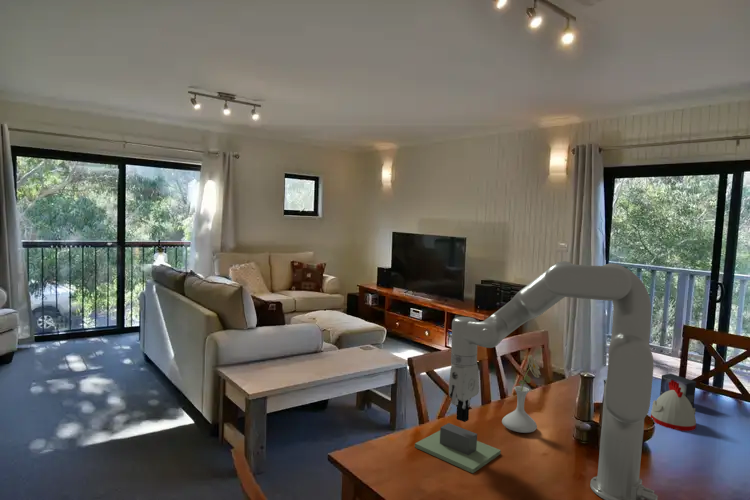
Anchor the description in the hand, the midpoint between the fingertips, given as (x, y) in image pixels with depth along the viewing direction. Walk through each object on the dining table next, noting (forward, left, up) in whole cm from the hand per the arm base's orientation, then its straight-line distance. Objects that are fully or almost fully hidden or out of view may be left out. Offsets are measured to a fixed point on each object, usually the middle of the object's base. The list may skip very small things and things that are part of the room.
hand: (462, 419), depth 141 cm
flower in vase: (-5, -30, -10) cm, 32 cm away
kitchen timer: (-41, -78, -10) cm, 88 cm away
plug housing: (+1, 0, -9) cm, 9 cm away
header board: (+1, 0, -10) cm, 10 cm away
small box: (-38, -102, -10) cm, 109 cm away
